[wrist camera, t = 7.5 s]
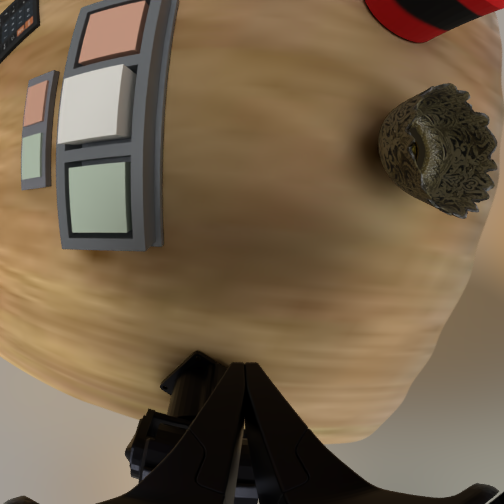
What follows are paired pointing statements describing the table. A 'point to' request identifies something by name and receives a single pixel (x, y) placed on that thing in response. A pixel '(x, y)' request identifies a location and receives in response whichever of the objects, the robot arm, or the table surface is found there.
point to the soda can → (428, 15)
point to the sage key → (101, 198)
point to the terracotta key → (114, 33)
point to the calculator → (17, 24)
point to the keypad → (127, 149)
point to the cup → (439, 150)
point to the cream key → (97, 106)
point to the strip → (38, 131)
